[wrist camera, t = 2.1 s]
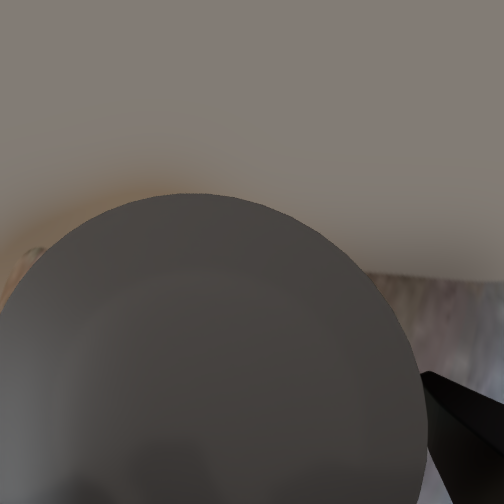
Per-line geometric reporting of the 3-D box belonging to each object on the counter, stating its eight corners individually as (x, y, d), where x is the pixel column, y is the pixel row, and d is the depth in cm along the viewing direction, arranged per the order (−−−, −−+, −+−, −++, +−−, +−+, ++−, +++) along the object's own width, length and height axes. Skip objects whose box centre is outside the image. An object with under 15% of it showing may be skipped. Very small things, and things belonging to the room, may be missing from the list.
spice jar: (363, 428, 13) (528, 440, 2) (263, 502, 12) (111, 658, 1) (284, 342, 16) (200, 133, 5) (192, 412, 15) (-44, 346, 4)
